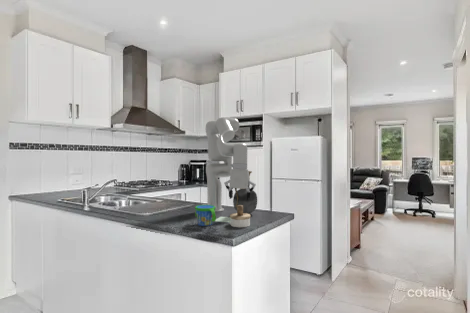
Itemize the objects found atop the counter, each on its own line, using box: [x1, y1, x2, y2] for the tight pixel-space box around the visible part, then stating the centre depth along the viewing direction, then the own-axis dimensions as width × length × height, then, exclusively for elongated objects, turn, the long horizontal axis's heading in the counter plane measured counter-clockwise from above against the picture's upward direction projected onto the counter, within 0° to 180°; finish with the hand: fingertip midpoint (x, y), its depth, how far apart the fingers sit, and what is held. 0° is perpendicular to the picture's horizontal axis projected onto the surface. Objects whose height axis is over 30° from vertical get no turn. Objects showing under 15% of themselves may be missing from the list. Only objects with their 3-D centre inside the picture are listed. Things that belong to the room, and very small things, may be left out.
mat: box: [214, 216, 230, 224], centre depth 167 cm, size 12×12×1 cm
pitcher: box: [232, 170, 258, 217], centre depth 178 cm, size 11×19×30 cm, turn 145°
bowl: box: [229, 217, 251, 228], centre depth 155 cm, size 10×10×4 cm
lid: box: [229, 205, 251, 220], centre depth 155 cm, size 11×11×6 cm
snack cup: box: [194, 204, 217, 227], centre depth 156 cm, size 16×10×10 cm
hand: (239, 198), depth 156 cm, fingers open, 9 cm apart
